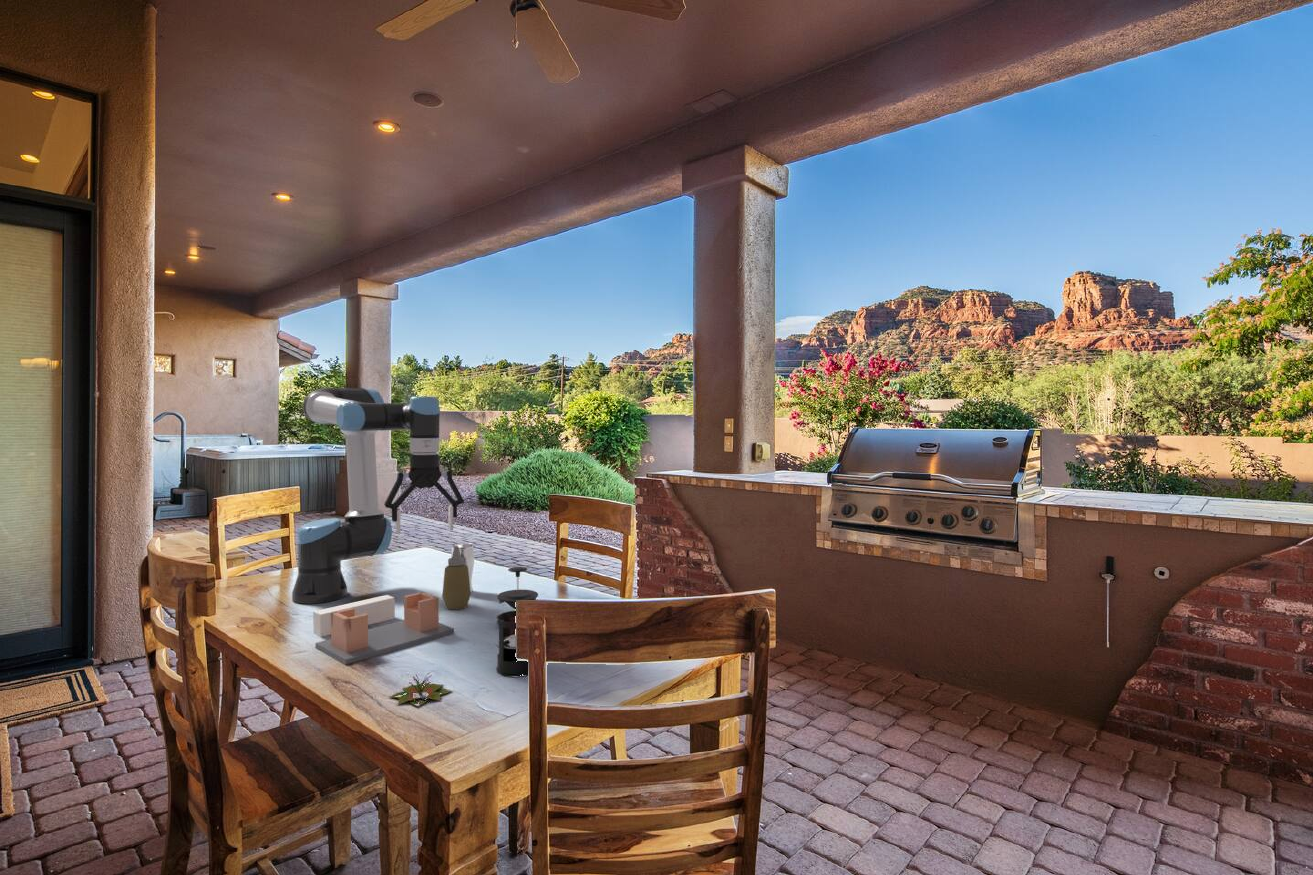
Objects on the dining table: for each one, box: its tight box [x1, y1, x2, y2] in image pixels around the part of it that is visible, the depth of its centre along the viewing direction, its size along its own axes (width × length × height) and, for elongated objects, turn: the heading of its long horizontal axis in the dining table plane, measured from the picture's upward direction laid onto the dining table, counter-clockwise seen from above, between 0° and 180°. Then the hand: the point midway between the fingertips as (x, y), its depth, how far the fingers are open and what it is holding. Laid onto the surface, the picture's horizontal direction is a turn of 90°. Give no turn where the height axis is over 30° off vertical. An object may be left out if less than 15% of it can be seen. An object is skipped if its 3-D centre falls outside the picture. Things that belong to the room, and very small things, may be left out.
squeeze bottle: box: [441, 546, 472, 610], centre depth 192 cm, size 8×8×18 cm
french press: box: [496, 566, 539, 677], centre depth 148 cm, size 12×9×23 cm
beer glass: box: [450, 542, 475, 594], centre depth 208 cm, size 7×7×15 cm
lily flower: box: [388, 672, 454, 707], centre depth 134 cm, size 12×12×5 cm
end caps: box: [314, 591, 455, 666], centre depth 165 cm, size 16×28×9 cm, turn 140°
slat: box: [312, 594, 396, 638], centre depth 176 cm, size 4×20×6 cm, turn 140°
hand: (425, 531), depth 178 cm, fingers open, 13 cm apart
